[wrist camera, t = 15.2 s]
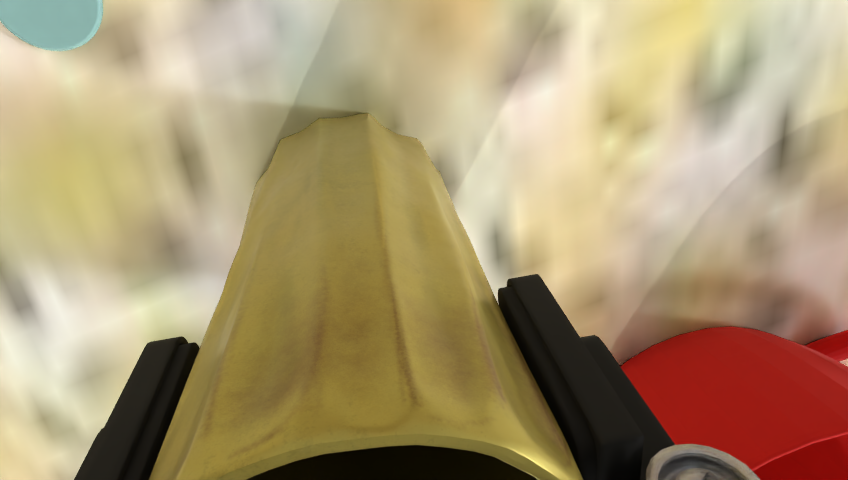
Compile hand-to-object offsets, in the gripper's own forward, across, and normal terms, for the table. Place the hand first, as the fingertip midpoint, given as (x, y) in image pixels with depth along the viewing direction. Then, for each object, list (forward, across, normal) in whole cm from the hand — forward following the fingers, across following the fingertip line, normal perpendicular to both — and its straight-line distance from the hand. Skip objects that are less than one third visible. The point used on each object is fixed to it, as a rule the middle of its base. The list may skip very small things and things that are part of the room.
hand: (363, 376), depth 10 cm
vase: (+10, 0, 0) cm, 10 cm away
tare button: (+9, +6, -7) cm, 13 cm away
